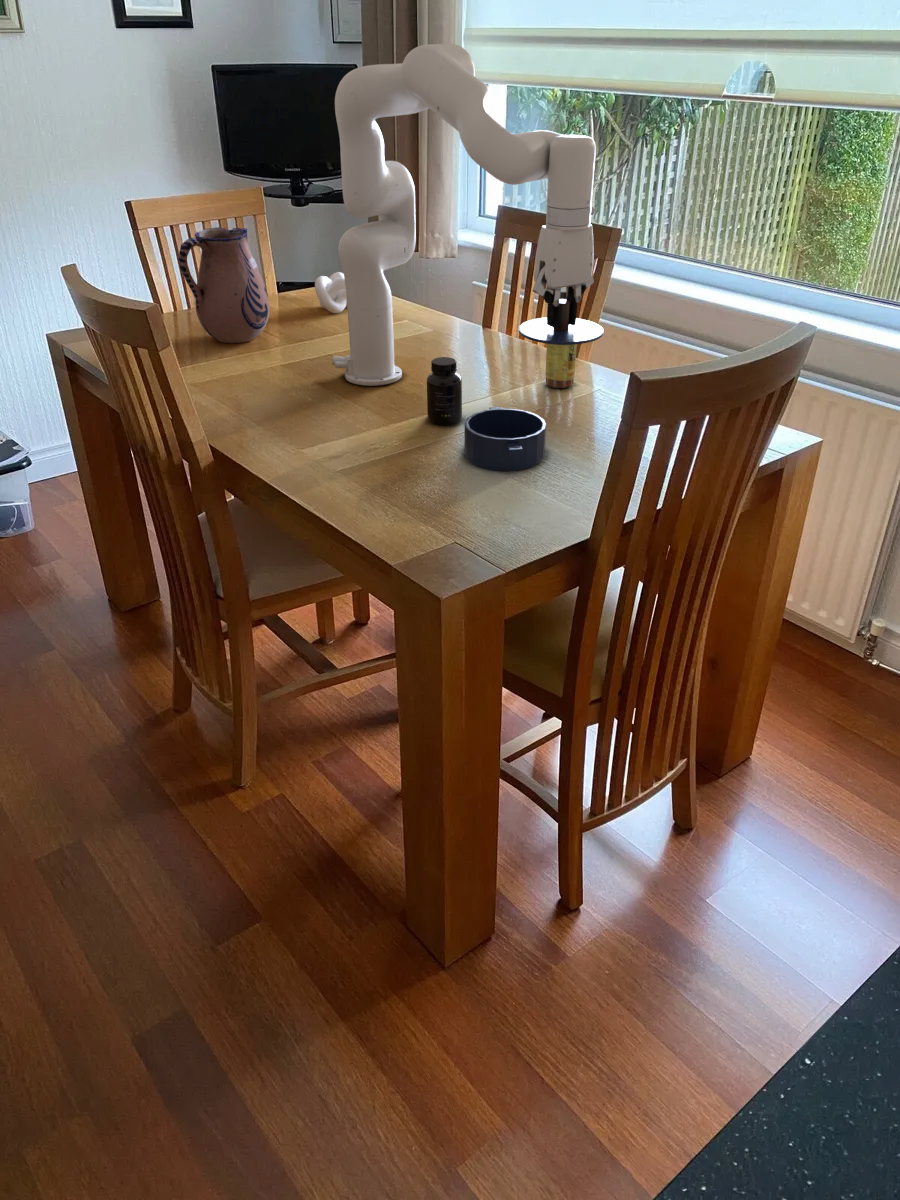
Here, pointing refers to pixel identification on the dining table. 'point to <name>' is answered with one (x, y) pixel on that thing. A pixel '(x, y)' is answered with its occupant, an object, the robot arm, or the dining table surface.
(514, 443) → the pan
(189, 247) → the ceramic pitcher
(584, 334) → the pan lid
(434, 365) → the supplement bottle
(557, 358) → the sauce bottle
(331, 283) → the white knot sculpture
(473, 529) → the dining table surface
